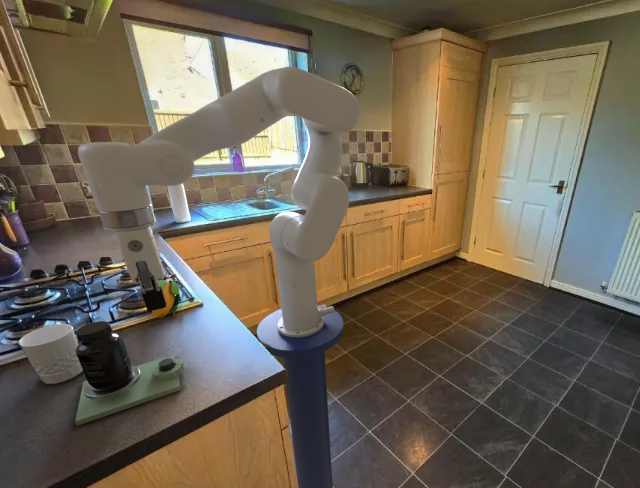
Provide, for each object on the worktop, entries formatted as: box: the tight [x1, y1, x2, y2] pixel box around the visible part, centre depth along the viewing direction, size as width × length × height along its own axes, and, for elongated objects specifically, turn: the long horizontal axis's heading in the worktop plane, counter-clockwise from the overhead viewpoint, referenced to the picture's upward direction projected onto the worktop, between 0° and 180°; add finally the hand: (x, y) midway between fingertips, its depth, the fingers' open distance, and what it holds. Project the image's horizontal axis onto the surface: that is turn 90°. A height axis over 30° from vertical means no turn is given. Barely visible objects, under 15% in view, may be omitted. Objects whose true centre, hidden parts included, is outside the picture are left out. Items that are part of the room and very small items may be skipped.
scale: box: [74, 354, 184, 426], centre depth 67 cm, size 17×12×2 cm
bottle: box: [166, 183, 192, 224], centre depth 179 cm, size 8×8×30 cm
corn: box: [151, 279, 180, 319], centre depth 94 cm, size 7×8×20 cm
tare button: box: [159, 358, 175, 372], centre depth 69 cm, size 3×3×2 cm
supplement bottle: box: [75, 320, 133, 391], centre depth 62 cm, size 7×7×12 cm
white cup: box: [18, 323, 83, 385], centre depth 68 cm, size 8×8×10 cm
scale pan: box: [83, 365, 141, 400], centre depth 64 cm, size 9×9×1 cm
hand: (157, 307), depth 65 cm, fingers closed
